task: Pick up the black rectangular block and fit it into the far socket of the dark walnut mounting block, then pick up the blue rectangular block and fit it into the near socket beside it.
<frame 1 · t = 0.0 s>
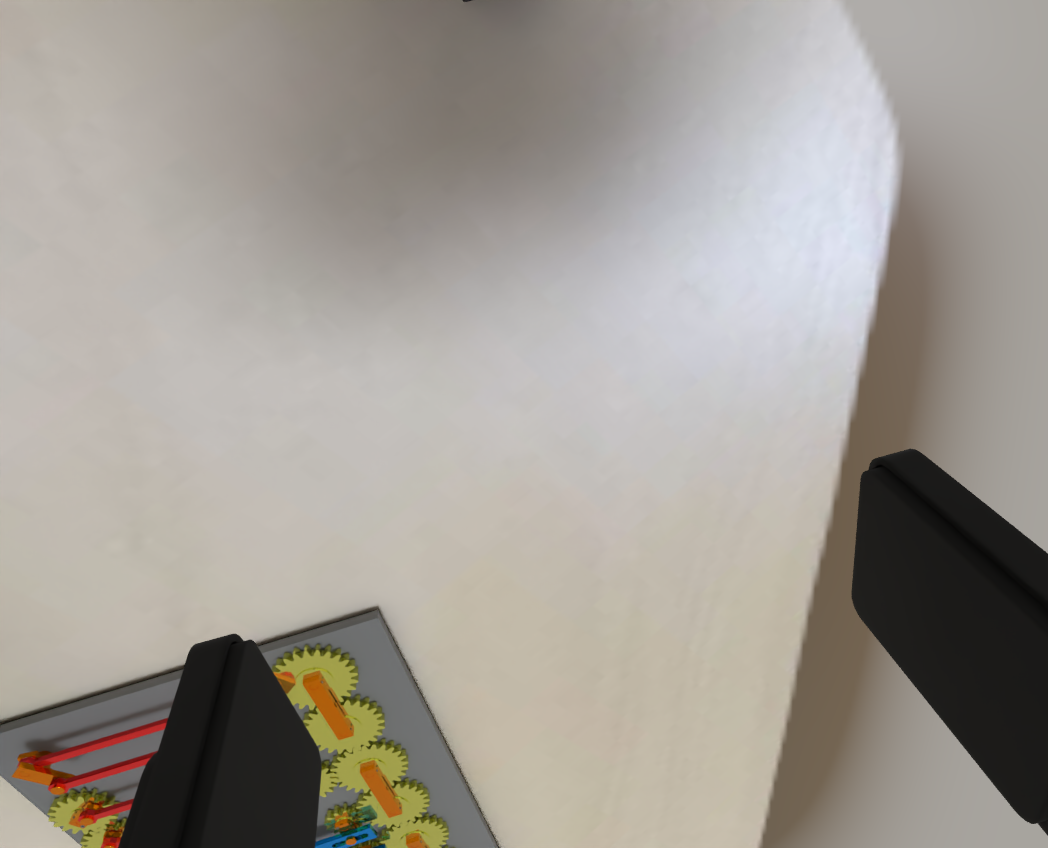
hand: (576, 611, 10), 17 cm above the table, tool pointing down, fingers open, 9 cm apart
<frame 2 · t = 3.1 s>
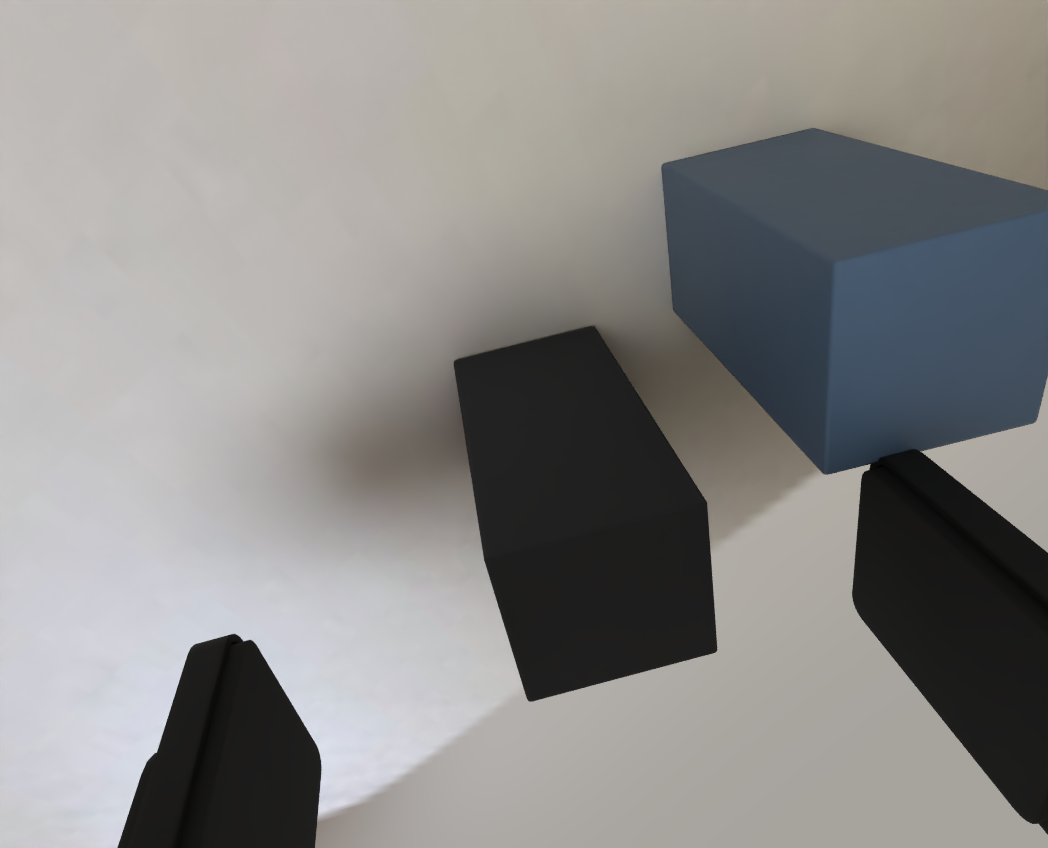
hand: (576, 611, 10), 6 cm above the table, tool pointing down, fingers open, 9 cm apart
black rectangular block: (537, 404, 16), on the table
blue rectangular block: (739, 224, 14), on the table, touching gripper
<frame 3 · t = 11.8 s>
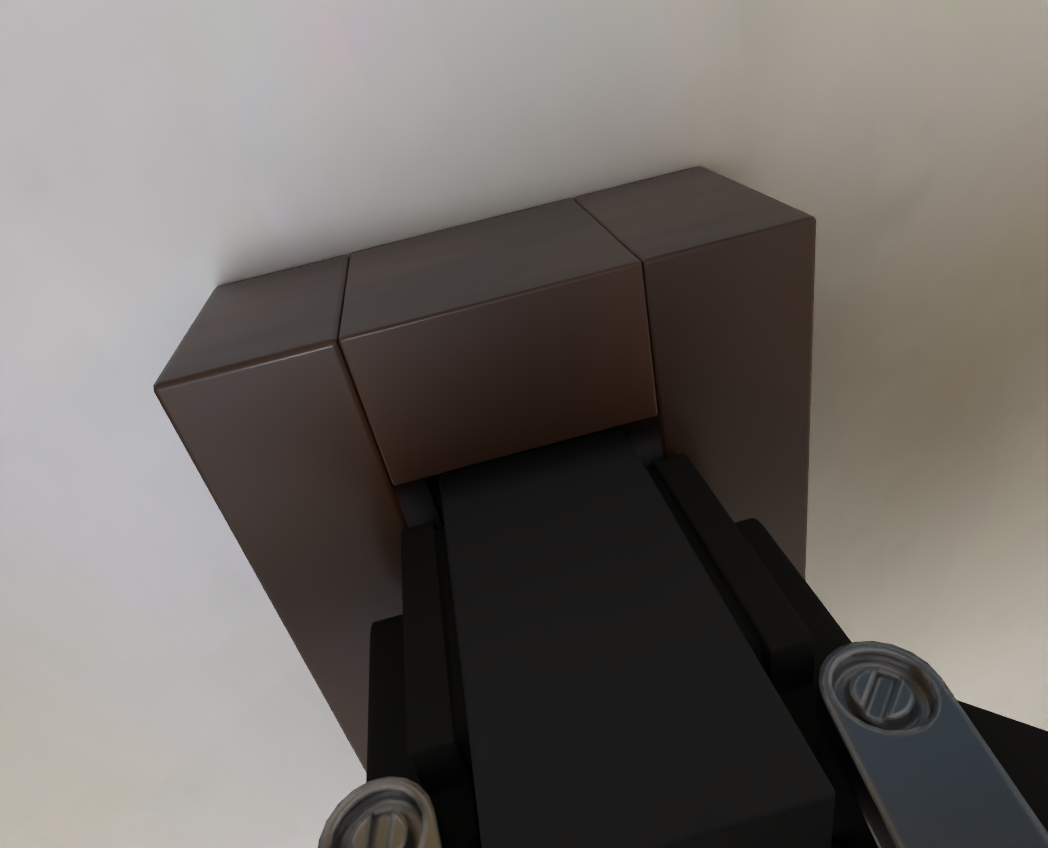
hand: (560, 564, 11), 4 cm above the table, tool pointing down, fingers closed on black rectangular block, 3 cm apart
black rectangular block: (547, 521, 12), point 3 cm above the table, touching gripper
mount: (540, 545, 17), on the table
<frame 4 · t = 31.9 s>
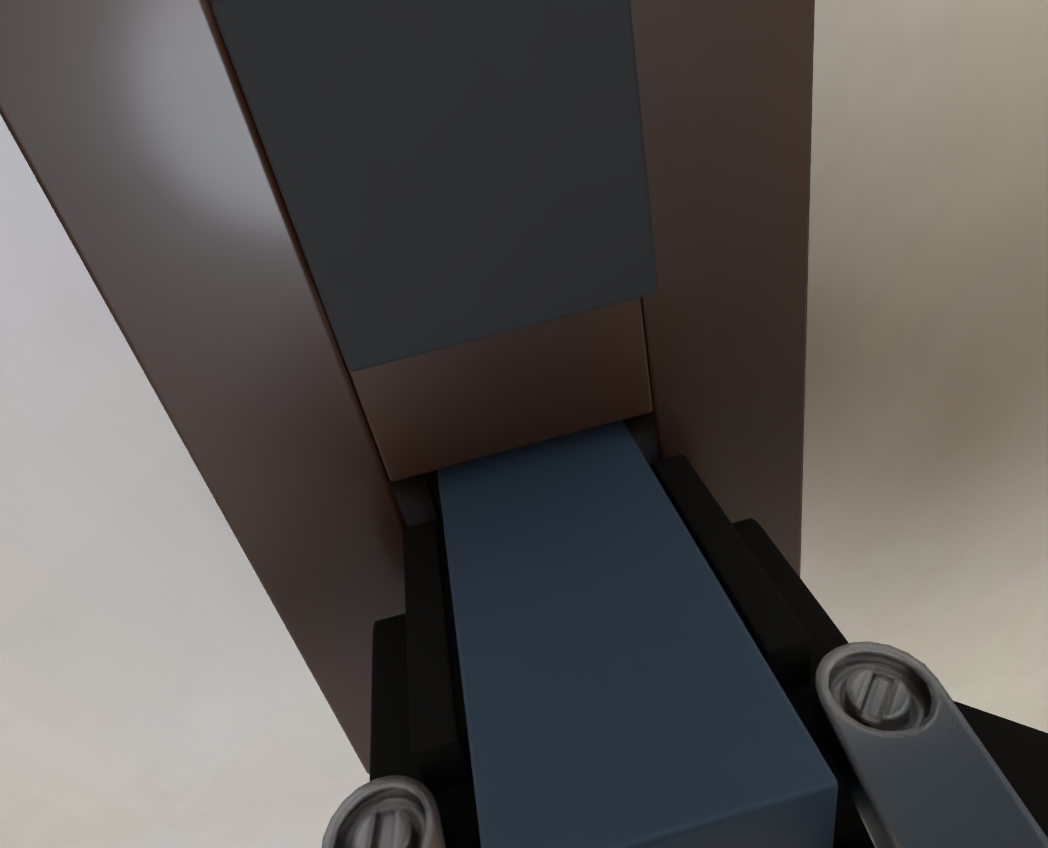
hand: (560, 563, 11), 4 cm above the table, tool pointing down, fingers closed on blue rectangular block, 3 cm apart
black rectangular block: (426, 99, 11), resting in mount
blue rectangular block: (546, 514, 12), point 3 cm above the table, touching gripper
mount: (474, 286, 13), on the table
when the fingers open (6 cm above the table, at t = 36.0 s): blue rectangular block drops 5 cm, resting in mount.
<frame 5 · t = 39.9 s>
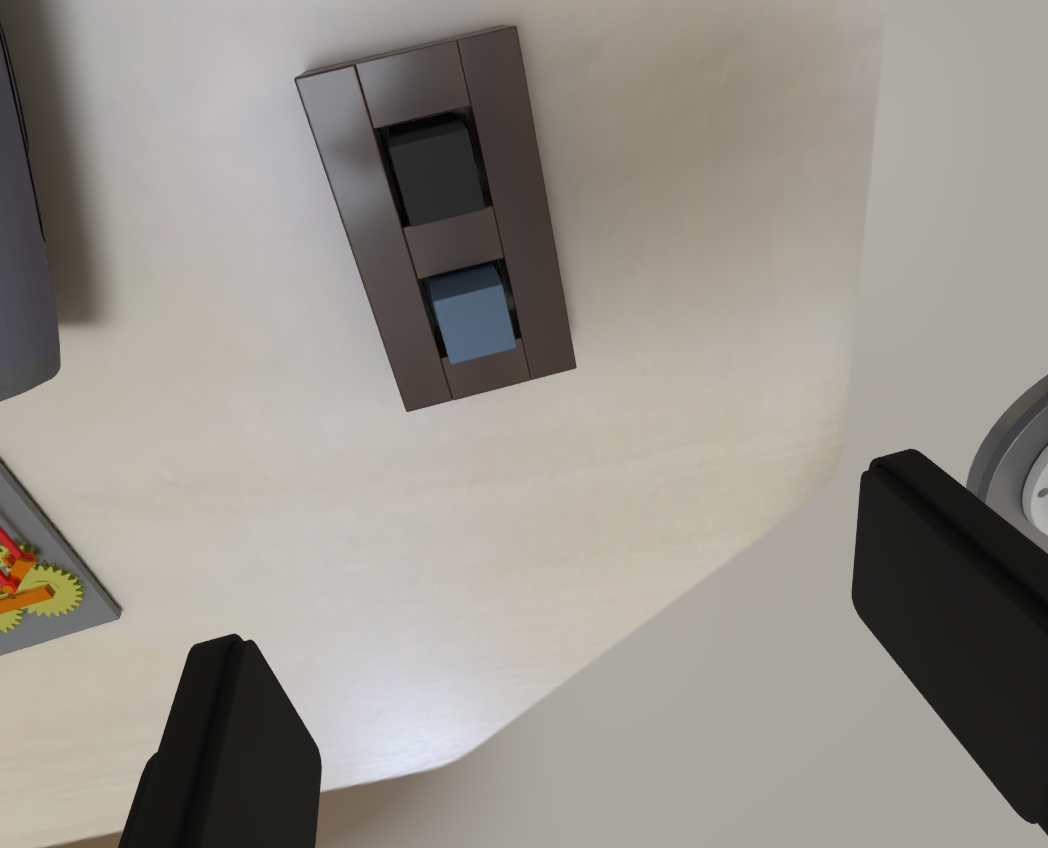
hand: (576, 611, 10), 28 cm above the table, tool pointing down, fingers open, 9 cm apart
black rectangular block: (429, 153, 33), resting in mount
blue rectangular block: (462, 280, 37), resting in mount
mount: (447, 222, 35), on the table
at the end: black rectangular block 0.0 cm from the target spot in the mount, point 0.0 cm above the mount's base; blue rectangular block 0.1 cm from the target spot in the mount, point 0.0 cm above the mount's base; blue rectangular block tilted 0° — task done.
